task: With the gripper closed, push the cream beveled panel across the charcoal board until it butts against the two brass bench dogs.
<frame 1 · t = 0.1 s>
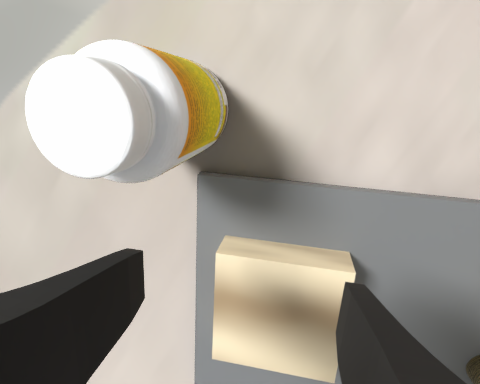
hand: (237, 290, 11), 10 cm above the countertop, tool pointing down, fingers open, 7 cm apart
supplement bottle: (188, 108, 20), on the countertop
cream beveled panel: (279, 295, 21), point 1 cm above the countertop, touching board
board: (343, 311, 22), on the countertop
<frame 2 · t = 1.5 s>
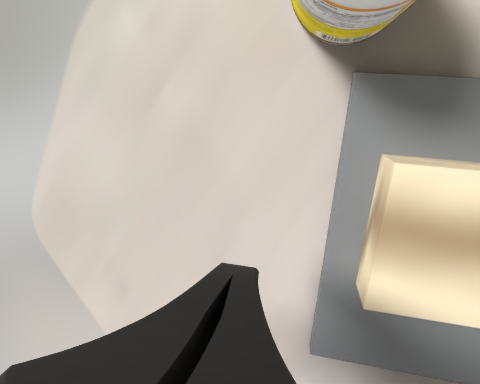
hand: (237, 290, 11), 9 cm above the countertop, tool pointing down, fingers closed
cream beveled panel: (443, 232, 17), point 1 cm above the countertop, touching board
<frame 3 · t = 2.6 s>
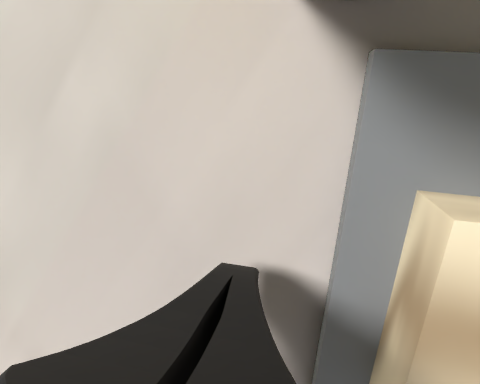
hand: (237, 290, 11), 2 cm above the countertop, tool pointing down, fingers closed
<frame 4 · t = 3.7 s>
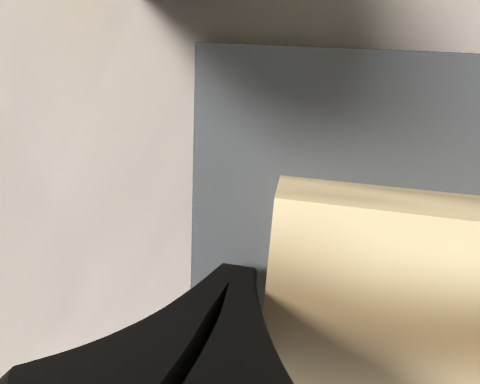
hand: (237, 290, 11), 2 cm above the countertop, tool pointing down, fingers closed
cream beveled panel: (381, 295, 11), point 1 cm above the countertop, touching board, gripper
board: (467, 322, 11), on the countertop
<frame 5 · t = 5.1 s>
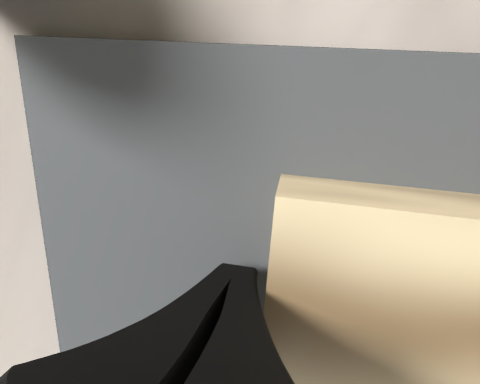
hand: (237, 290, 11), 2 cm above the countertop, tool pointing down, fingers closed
cream beveled panel: (382, 294, 11), point 1 cm above the countertop, touching board, gripper
board: (291, 293, 13), on the countertop
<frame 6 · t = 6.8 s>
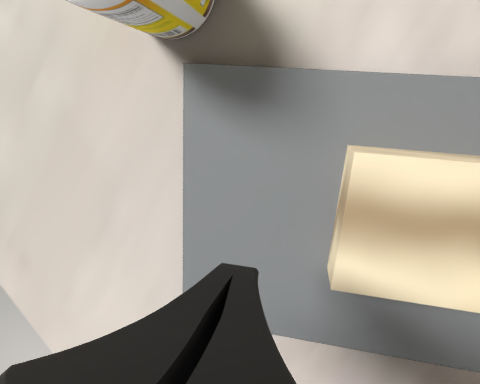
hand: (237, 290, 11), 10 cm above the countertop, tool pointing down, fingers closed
cream beveled panel: (406, 218, 18), point 1 cm above the countertop, touching board
board: (342, 222, 20), on the countertop
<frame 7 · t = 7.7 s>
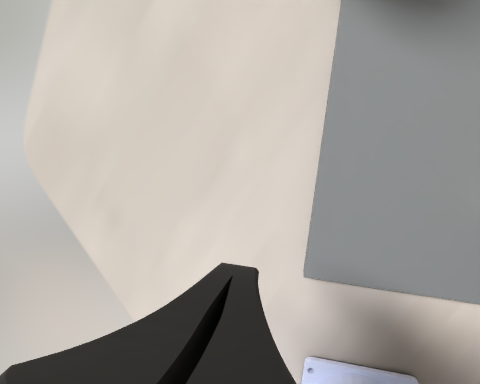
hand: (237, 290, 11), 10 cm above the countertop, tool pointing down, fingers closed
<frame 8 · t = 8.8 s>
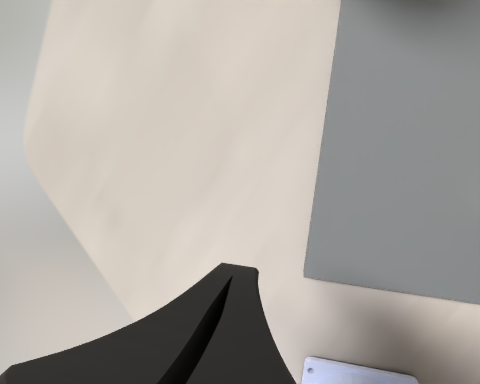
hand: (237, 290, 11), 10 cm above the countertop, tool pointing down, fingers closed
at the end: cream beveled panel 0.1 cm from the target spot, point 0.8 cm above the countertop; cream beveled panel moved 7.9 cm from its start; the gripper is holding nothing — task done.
